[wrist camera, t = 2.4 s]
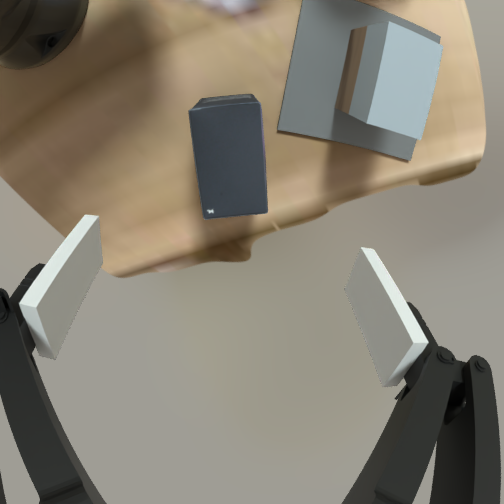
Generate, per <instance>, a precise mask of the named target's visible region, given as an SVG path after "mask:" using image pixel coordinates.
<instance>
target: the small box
mask: <svg viewBox="0 0 504 504" xmlns="http://www.w3.org/2000/svg"><path fill="white" fill-rule="evenodd" d="M189 120H190V128H191V136H192V144H193V152H194V159H195V166H196V173H197V179H198V187H199V194H200V200H201V207H202V213H203V218H204V219H205V220H208V219H216V218H227V217H236V216H247V215H257V214H266V213H268V202H267V180H266V158H265V143H264V131H263V118H262V109H261V103H260V102H259V101H258V100H257V99H256V98H255V97H254V95H253V94H242V95H230V96H220V97H210V98H202V99H200V100H199V102H198V103H197V104H196V105H195V106H194V107H193V108H192V109H190V110H189Z"/></svg>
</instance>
